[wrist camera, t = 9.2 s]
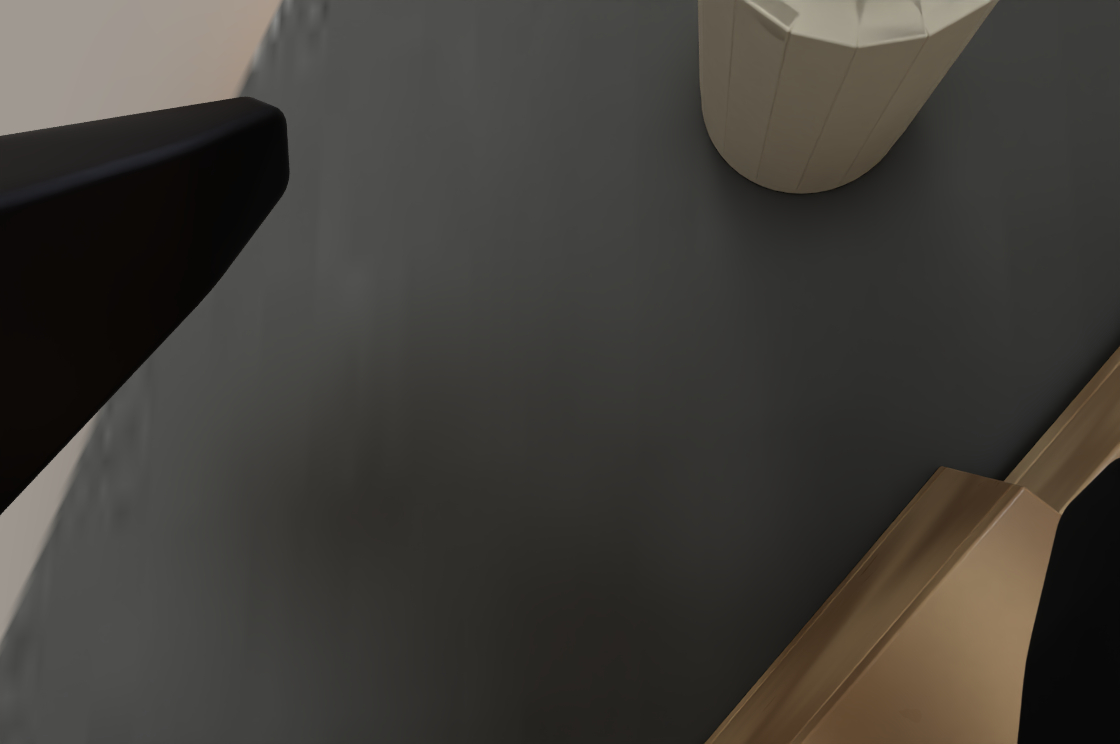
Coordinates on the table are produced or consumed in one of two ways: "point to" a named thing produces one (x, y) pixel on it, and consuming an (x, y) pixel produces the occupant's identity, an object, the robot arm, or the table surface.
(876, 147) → the bottle
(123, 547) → the table surface
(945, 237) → the table surface
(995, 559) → the cabinet
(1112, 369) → the drawer
